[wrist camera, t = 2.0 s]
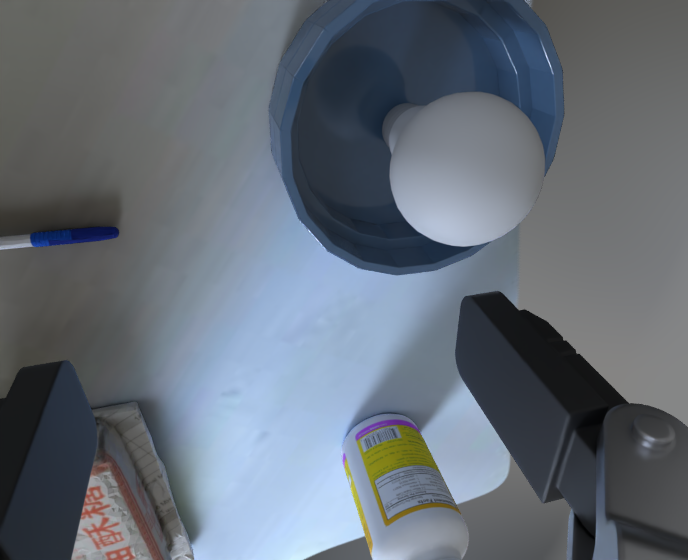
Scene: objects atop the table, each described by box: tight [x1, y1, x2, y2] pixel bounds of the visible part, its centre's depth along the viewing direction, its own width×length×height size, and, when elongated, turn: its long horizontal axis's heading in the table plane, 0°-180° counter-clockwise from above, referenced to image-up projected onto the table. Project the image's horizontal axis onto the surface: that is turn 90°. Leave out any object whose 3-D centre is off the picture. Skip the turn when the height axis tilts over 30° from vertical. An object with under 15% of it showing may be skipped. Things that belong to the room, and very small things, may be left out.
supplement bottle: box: [341, 414, 469, 560], centre depth 35 cm, size 7×7×13 cm
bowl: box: [269, 0, 564, 275], centre depth 25 cm, size 14×14×4 cm
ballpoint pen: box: [0, 227, 119, 250], centre depth 25 cm, size 10×1×1 cm, turn 90°
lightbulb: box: [382, 92, 545, 247], centre depth 22 cm, size 6×6×11 cm
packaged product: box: [71, 402, 194, 560], centre depth 34 cm, size 18×5×10 cm
